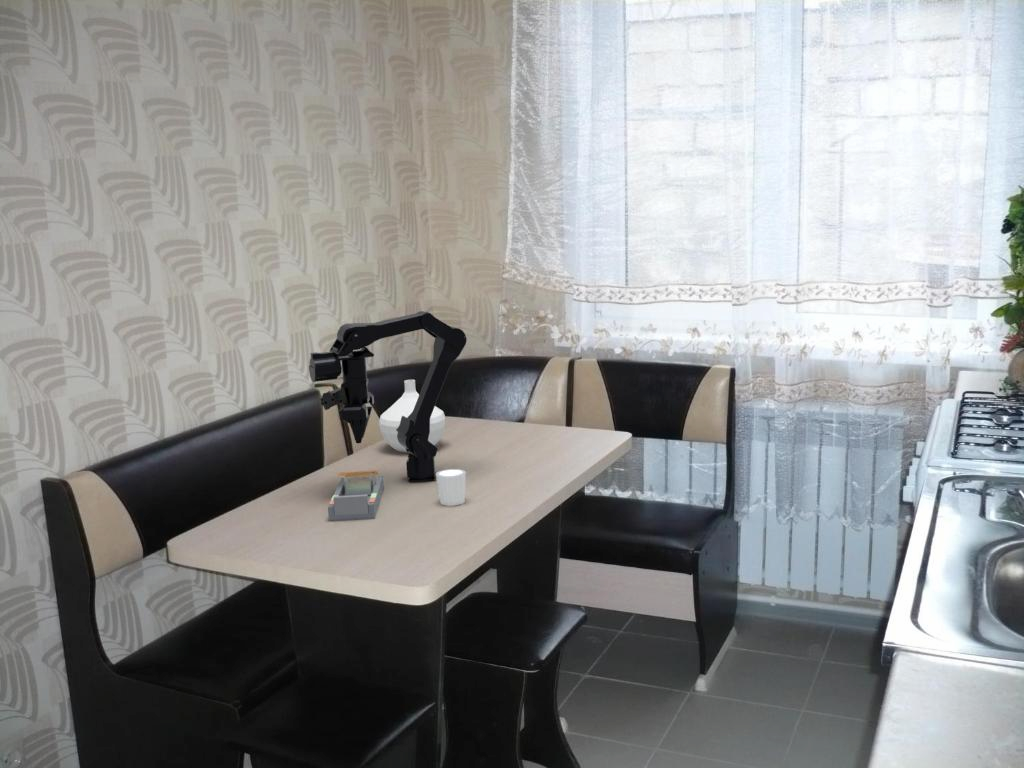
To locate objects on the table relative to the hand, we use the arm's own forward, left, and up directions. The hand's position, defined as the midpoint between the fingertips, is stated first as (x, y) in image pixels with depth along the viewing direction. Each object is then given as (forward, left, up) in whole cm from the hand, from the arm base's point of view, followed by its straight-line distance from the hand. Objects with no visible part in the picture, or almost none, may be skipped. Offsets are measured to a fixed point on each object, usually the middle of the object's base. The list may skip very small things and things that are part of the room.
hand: (359, 440), depth 255 cm
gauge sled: (0, +8, -11) cm, 13 cm away
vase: (-10, -37, -12) cm, 40 cm away
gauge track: (0, +13, -12) cm, 17 cm away
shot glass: (-22, +15, -12) cm, 29 cm away
